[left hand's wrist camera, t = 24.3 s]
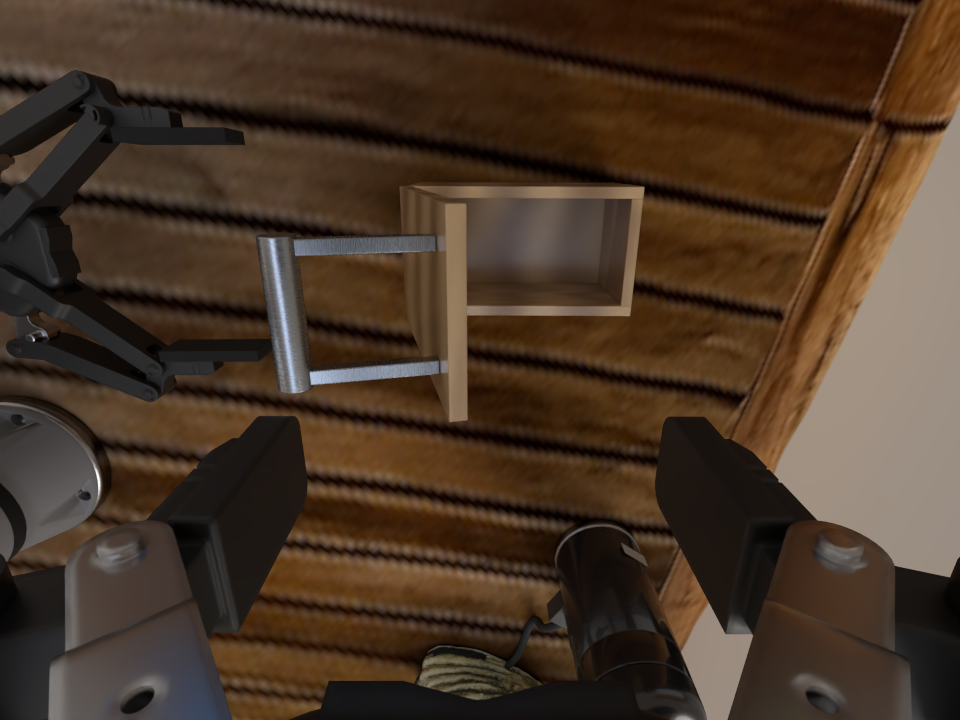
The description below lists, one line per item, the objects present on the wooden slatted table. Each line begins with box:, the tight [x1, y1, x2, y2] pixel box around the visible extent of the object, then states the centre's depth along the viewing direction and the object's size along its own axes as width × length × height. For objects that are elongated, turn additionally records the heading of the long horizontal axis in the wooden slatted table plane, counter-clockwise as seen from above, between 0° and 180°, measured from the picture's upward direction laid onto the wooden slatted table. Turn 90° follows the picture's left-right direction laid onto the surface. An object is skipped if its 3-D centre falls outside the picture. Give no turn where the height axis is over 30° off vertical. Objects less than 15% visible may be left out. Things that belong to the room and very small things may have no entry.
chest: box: [408, 182, 644, 316], centre depth 41 cm, size 16×9×9 cm, turn 90°
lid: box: [256, 186, 468, 422], centre depth 28 cm, size 17×9×8 cm
